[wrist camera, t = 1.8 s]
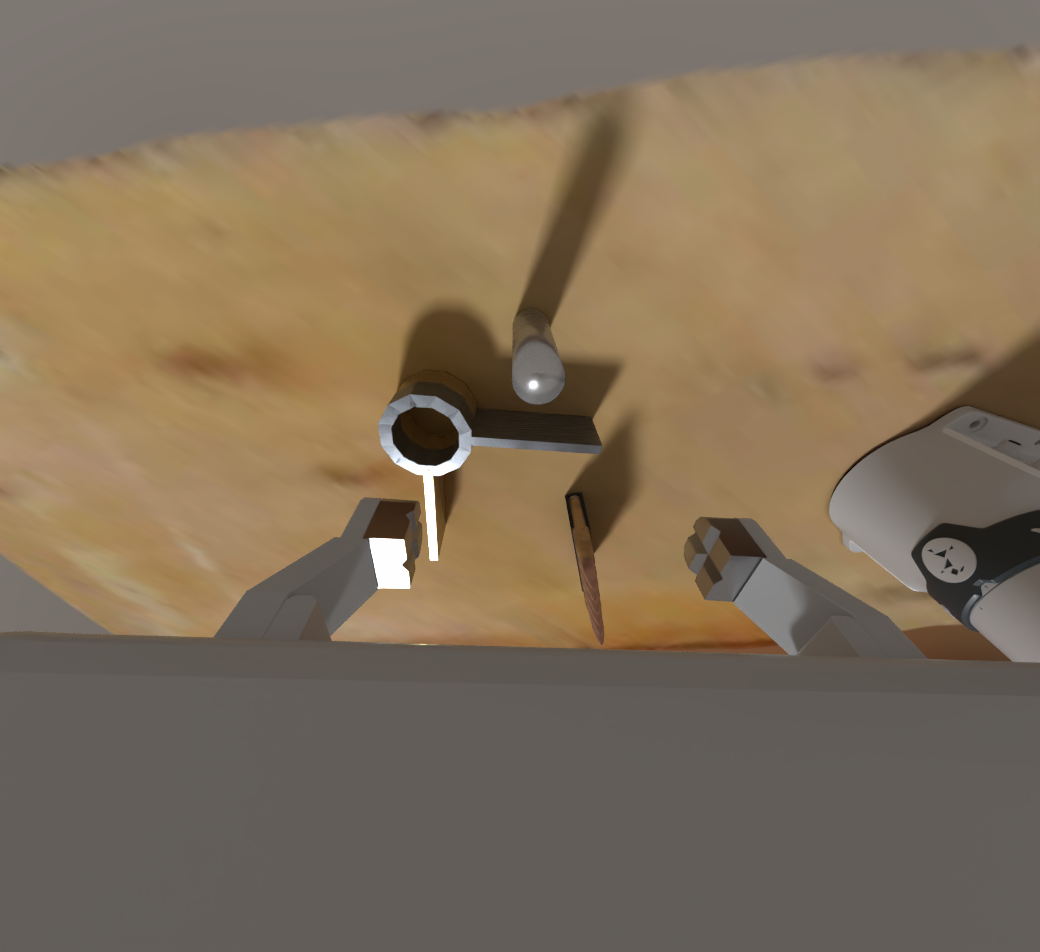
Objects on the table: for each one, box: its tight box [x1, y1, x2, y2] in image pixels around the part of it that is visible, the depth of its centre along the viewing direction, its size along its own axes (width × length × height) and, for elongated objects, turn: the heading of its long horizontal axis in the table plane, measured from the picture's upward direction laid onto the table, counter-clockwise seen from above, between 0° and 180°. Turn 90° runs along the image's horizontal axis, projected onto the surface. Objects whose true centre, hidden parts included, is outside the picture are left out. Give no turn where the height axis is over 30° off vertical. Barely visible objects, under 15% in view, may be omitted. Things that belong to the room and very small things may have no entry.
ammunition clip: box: [565, 493, 604, 645], centre depth 39 cm, size 11×2×12 cm, turn 12°
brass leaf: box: [398, 370, 477, 561], centre depth 35 cm, size 7×18×6 cm, turn 175°
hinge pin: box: [512, 308, 565, 404], centre depth 26 cm, size 3×3×12 cm
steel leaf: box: [378, 381, 602, 476], centre depth 33 cm, size 18×7×6 cm, turn 85°
